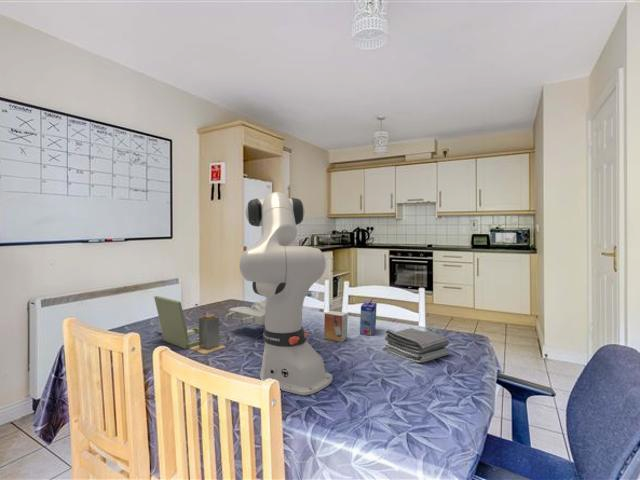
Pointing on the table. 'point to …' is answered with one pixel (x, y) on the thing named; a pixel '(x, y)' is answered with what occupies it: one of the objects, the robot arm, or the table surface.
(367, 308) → the juice box
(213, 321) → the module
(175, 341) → the case
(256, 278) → the robot arm
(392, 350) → the towel
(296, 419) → the table surface
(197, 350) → the pad
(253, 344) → the table surface
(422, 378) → the table surface
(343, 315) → the small box
